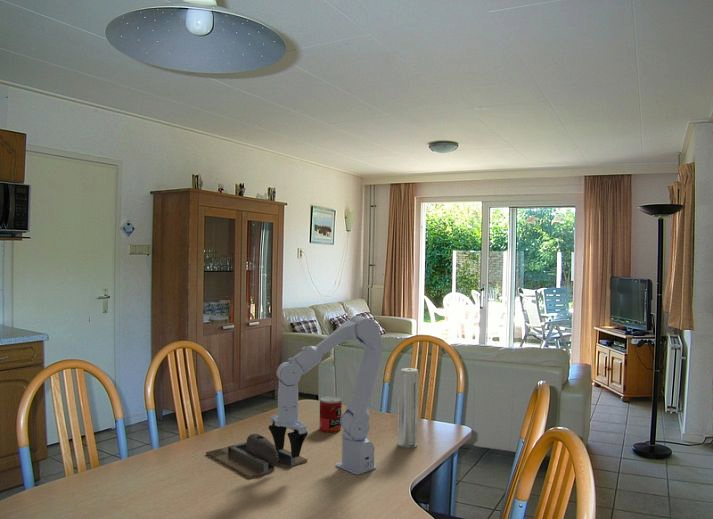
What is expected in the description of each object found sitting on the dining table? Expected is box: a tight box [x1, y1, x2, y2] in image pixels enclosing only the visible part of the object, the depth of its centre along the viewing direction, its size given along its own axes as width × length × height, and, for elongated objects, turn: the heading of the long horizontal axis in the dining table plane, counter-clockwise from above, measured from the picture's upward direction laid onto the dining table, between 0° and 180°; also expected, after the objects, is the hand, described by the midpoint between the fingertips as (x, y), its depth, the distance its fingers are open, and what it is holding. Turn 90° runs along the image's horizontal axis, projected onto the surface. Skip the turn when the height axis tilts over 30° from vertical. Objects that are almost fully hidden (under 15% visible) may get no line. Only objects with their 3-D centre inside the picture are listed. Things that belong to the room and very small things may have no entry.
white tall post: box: [397, 367, 420, 449], centre depth 185 cm, size 6×6×25 cm
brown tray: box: [205, 441, 308, 480], centre depth 170 cm, size 25×20×3 cm
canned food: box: [319, 395, 343, 433], centre depth 200 cm, size 8×8×11 cm
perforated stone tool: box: [245, 433, 279, 467], centre depth 167 cm, size 15×5×7 cm, turn 38°
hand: (287, 453), depth 159 cm, fingers open, 7 cm apart
